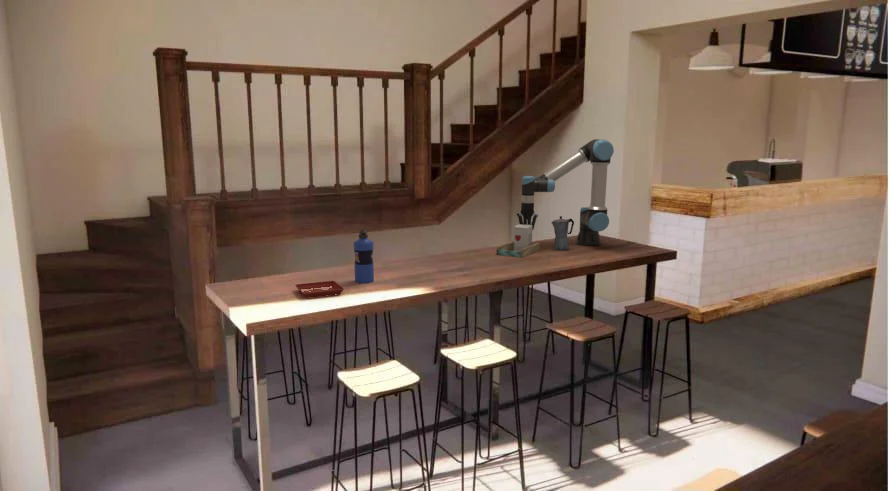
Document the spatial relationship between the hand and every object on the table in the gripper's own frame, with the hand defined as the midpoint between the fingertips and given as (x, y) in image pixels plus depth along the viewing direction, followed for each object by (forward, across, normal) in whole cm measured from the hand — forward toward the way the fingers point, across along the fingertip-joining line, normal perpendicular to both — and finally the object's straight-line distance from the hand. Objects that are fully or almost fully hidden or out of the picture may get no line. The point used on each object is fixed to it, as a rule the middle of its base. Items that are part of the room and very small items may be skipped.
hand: (526, 241), depth 382 cm
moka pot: (+5, +18, +11) cm, 22 cm away
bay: (+5, 0, -12) cm, 13 cm away
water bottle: (+4, -33, -114) cm, 118 cm away
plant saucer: (+5, -37, -141) cm, 145 cm away
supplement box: (+5, 0, -6) cm, 8 cm away
